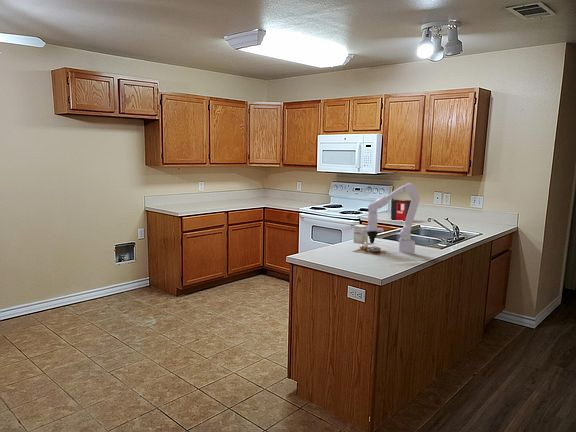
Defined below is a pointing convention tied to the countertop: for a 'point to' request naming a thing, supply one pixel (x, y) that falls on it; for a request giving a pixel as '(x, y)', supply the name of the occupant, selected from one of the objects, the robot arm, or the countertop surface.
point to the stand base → (370, 252)
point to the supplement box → (360, 234)
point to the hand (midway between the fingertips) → (371, 243)
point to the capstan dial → (370, 248)
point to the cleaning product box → (400, 209)
